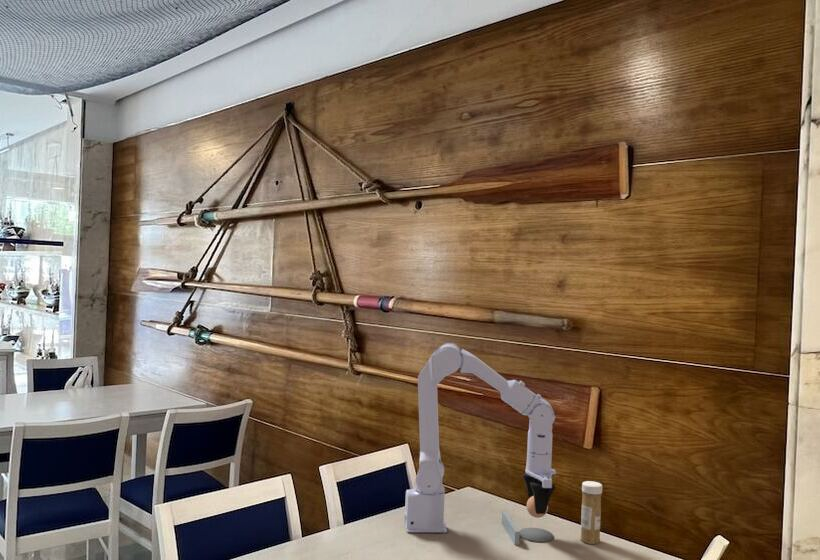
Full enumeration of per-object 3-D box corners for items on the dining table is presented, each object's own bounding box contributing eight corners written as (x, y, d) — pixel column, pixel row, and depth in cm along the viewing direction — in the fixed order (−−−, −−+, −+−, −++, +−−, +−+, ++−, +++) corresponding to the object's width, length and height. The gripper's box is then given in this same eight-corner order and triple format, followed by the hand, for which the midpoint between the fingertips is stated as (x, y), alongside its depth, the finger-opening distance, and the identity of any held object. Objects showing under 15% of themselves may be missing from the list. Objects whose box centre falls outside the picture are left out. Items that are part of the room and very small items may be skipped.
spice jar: (603, 544, 152) (605, 486, 152) (584, 545, 152) (586, 486, 152) (595, 536, 157) (597, 480, 157) (576, 537, 156) (579, 480, 156)
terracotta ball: (529, 520, 153) (530, 499, 153) (523, 513, 158) (524, 492, 158) (550, 520, 154) (551, 499, 154) (544, 513, 159) (544, 492, 159)
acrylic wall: (514, 544, 150) (515, 531, 150) (501, 523, 163) (502, 511, 163) (519, 544, 150) (519, 531, 150) (505, 523, 163) (506, 511, 163)
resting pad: (523, 542, 152) (523, 541, 152) (515, 528, 160) (515, 527, 160) (557, 542, 153) (557, 541, 153) (547, 529, 161) (547, 527, 161)
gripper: (565, 460, 149) (563, 520, 149) (546, 443, 164) (544, 498, 164) (535, 459, 149) (532, 520, 149) (518, 443, 163) (516, 498, 163)
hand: (537, 508), depth 156 cm, fingers closed on terracotta ball, 5 cm apart
